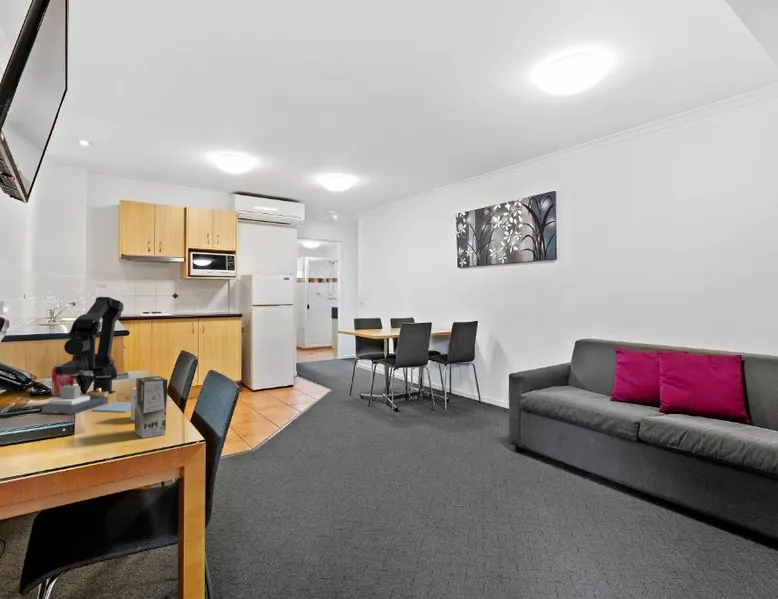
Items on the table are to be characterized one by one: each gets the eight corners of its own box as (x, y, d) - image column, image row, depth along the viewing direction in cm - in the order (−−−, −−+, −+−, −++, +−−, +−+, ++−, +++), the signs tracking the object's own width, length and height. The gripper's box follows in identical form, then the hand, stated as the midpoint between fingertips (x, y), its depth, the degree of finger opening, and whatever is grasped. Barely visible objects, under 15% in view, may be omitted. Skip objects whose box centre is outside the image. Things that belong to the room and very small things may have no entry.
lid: (68, 398, 150) (69, 384, 150) (89, 399, 149) (90, 384, 149) (49, 403, 142) (49, 388, 142) (71, 404, 141) (72, 389, 141)
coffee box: (166, 434, 122) (168, 379, 123) (141, 438, 118) (143, 382, 118) (157, 427, 129) (159, 375, 129) (133, 431, 124) (135, 377, 125)
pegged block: (92, 395, 155) (93, 387, 155) (108, 396, 155) (108, 388, 155) (88, 396, 153) (88, 388, 153) (104, 397, 153) (104, 389, 153)
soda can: (61, 392, 172) (62, 363, 172) (77, 392, 172) (78, 363, 172) (46, 395, 165) (47, 365, 165) (63, 396, 165) (64, 366, 165)
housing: (79, 402, 157) (80, 394, 157) (107, 403, 156) (108, 395, 156) (42, 413, 141) (42, 404, 141) (73, 414, 140) (73, 405, 140)
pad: (115, 403, 157) (116, 401, 157) (146, 404, 156) (146, 403, 156) (91, 411, 145) (91, 409, 145) (124, 412, 144) (124, 411, 144)
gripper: (42, 353, 147) (40, 397, 147) (93, 355, 146) (91, 399, 146) (68, 349, 158) (66, 391, 158) (115, 351, 157) (114, 393, 157)
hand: (83, 393), depth 154 cm, fingers closed
